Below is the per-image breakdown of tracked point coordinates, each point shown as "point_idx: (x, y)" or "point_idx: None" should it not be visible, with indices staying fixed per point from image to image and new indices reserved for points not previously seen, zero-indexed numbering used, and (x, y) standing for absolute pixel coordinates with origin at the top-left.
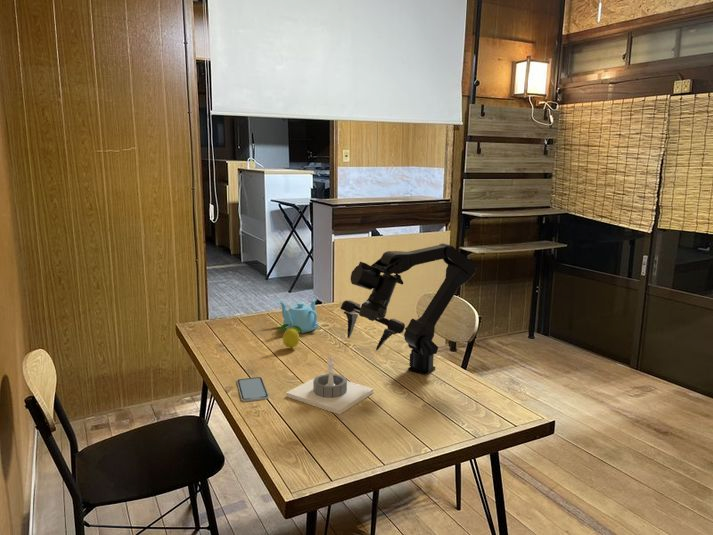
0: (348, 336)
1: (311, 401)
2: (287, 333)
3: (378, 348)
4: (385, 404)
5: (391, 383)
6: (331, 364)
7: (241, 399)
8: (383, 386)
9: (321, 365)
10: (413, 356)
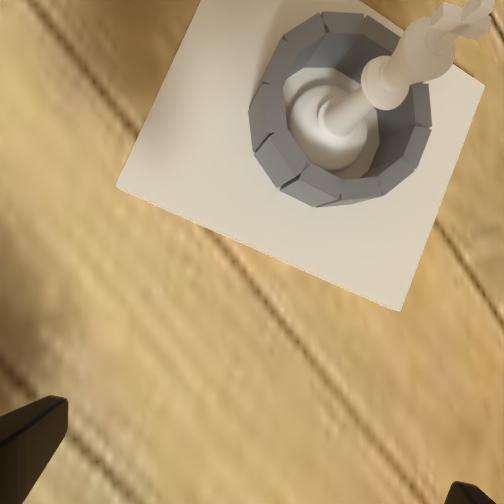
0: (473, 495)
1: (374, 14)
2: None
3: (17, 410)
4: (28, 60)
5: (37, 333)
6: (418, 19)
7: None
8: (78, 281)
9: (422, 441)
10: None
